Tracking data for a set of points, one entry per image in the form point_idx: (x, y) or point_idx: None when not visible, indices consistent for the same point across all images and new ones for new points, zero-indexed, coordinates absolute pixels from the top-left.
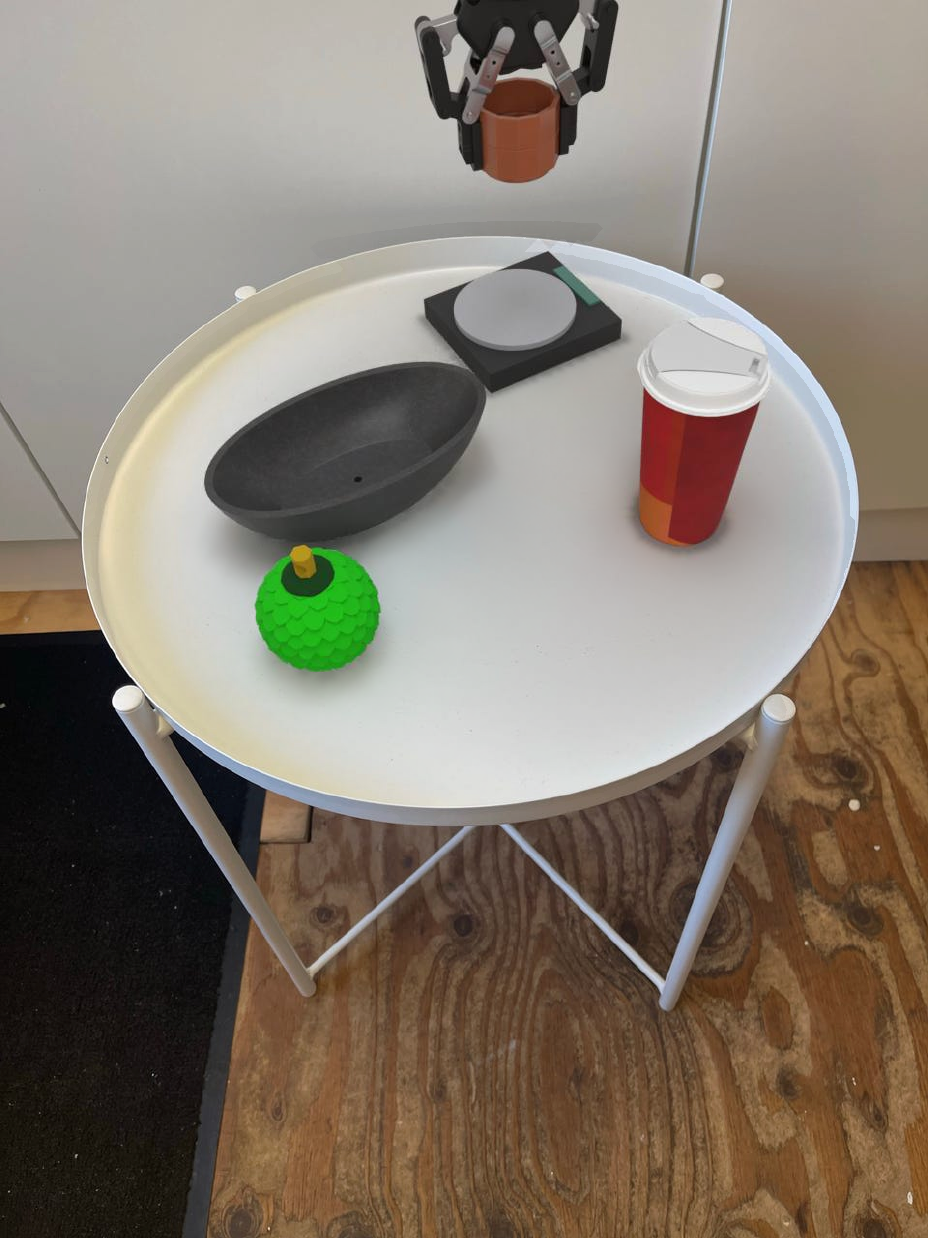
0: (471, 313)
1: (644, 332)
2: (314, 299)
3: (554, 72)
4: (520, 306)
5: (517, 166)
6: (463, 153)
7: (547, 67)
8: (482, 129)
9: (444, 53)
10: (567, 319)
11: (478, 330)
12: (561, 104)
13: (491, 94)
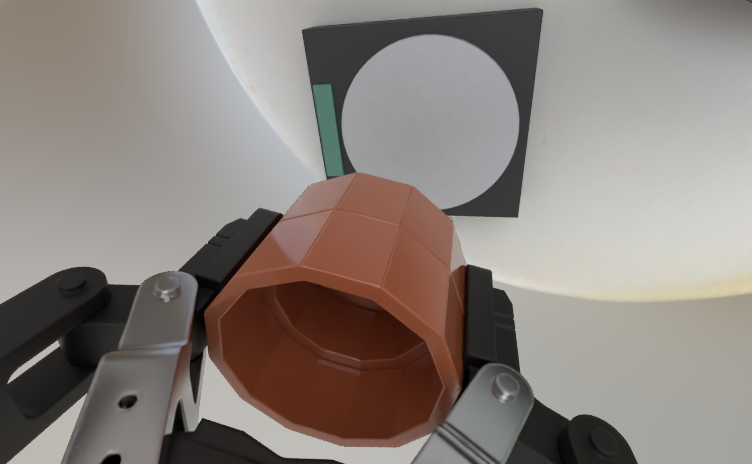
0: (487, 151)
1: (279, 22)
2: (605, 299)
3: (167, 376)
4: (420, 127)
5: (410, 203)
6: (512, 312)
7: (193, 410)
8: (461, 337)
9: None
10: (375, 62)
11: (501, 111)
12: (215, 294)
13: (370, 418)
